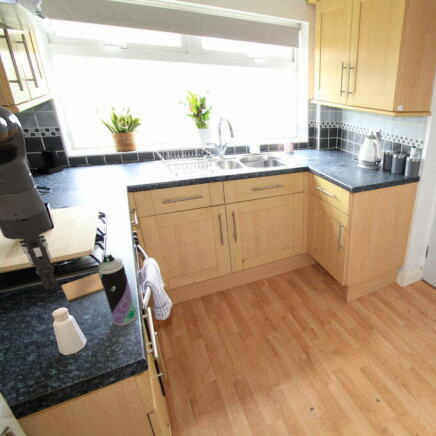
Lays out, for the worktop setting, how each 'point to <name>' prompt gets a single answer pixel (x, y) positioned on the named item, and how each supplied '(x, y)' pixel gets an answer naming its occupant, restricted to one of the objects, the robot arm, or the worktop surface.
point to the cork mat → (82, 287)
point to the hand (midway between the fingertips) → (48, 278)
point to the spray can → (117, 290)
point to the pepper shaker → (67, 332)
